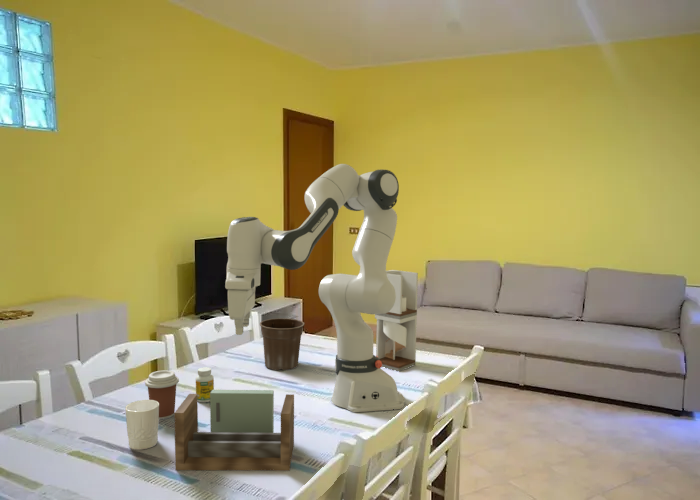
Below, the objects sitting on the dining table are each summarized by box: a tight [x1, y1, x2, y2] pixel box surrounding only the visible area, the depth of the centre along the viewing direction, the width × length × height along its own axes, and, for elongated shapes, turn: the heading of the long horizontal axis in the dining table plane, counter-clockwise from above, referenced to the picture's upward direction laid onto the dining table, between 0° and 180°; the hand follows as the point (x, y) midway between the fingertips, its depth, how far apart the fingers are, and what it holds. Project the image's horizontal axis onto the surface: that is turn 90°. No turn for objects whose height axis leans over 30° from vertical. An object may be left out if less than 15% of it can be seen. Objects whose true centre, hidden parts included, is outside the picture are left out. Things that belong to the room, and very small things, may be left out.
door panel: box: [209, 389, 275, 433], centre depth 141 cm, size 16×3×12 cm, turn 91°
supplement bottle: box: [195, 367, 215, 403], centre depth 166 cm, size 5×5×10 cm
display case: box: [374, 269, 419, 372], centre depth 202 cm, size 11×11×35 cm
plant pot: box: [259, 317, 305, 371], centre depth 200 cm, size 16×16×16 cm
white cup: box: [125, 399, 160, 451], centre depth 136 cm, size 8×8×10 cm
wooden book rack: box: [173, 393, 295, 472], centre depth 129 cm, size 26×12×14 cm, turn 91°
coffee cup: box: [144, 370, 180, 421], centre depth 154 cm, size 9×9×12 cm
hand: (242, 330), depth 144 cm, fingers open, 8 cm apart
